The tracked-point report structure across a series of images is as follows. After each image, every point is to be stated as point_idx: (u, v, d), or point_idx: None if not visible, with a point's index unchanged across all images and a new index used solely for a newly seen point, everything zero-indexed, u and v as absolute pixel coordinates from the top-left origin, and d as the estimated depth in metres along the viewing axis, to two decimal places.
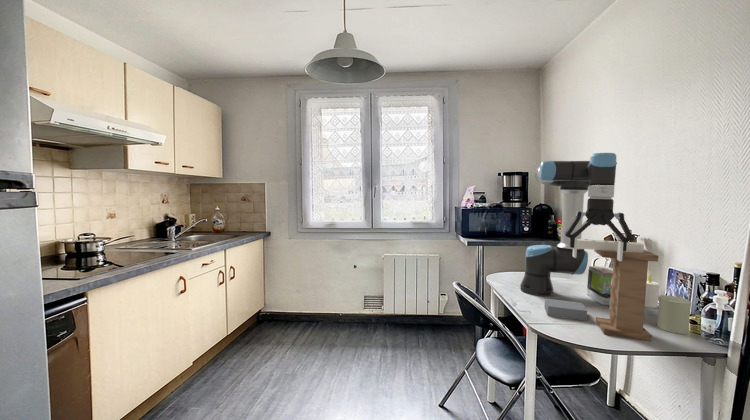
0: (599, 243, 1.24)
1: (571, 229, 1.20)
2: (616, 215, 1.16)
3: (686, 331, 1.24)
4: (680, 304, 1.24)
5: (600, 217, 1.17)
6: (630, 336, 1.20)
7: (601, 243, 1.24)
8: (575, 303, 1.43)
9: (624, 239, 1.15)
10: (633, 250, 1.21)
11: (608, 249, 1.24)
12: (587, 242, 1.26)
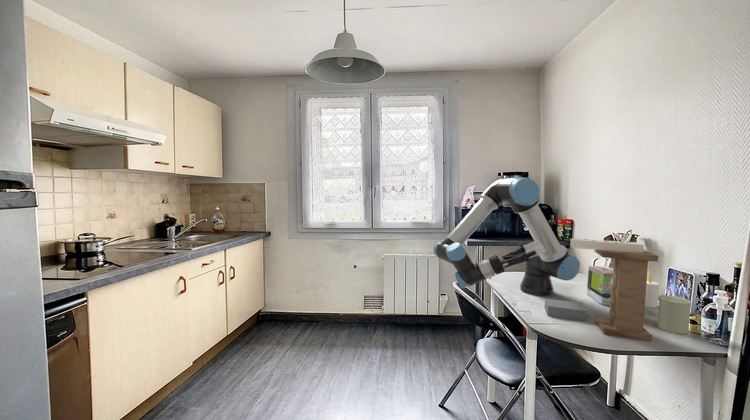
0: (599, 243, 1.24)
1: None
2: None
3: (686, 331, 1.24)
4: (680, 304, 1.24)
5: None
6: (630, 336, 1.20)
7: (601, 243, 1.24)
8: (575, 303, 1.43)
9: None
10: (633, 250, 1.21)
11: (608, 249, 1.24)
12: (587, 242, 1.26)
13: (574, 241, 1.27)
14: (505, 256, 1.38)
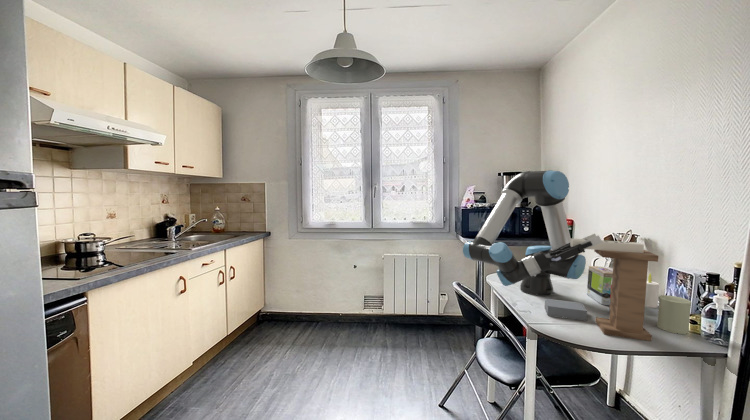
0: None
1: None
2: None
3: (686, 331, 1.24)
4: (680, 304, 1.24)
5: None
6: (630, 336, 1.20)
7: (601, 243, 1.24)
8: (575, 303, 1.43)
9: None
10: (633, 250, 1.21)
11: (608, 249, 1.24)
12: None
13: (574, 241, 1.27)
14: (552, 252, 1.31)
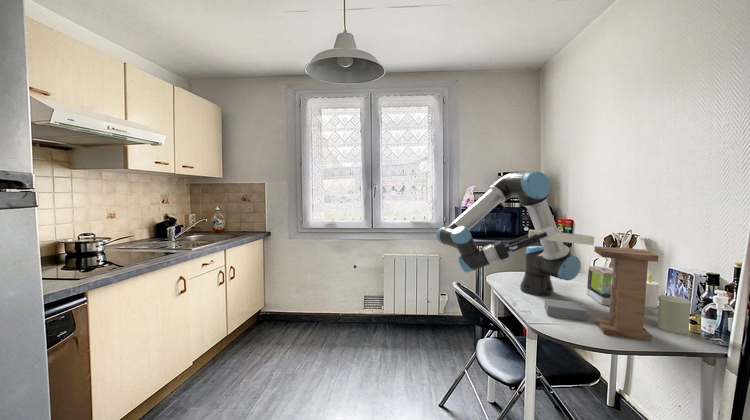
0: None
1: None
2: None
3: (686, 331, 1.24)
4: (680, 304, 1.24)
5: None
6: (630, 336, 1.20)
7: (556, 234, 1.31)
8: (575, 303, 1.43)
9: None
10: (584, 242, 1.28)
11: (562, 240, 1.30)
12: None
13: (531, 232, 1.33)
14: (511, 241, 1.37)
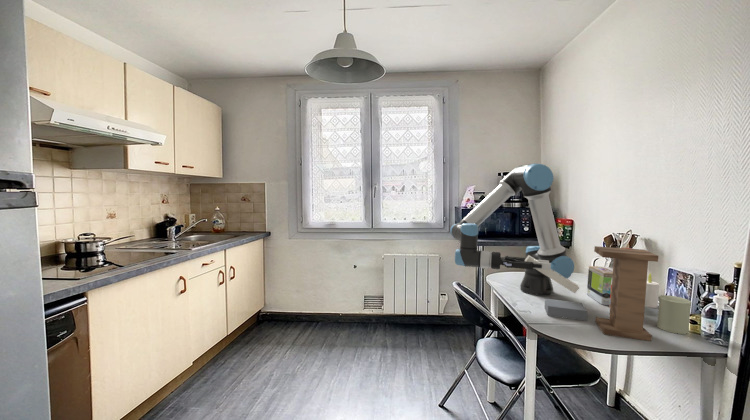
0: None
1: None
2: None
3: (686, 331, 1.24)
4: (680, 304, 1.24)
5: None
6: (630, 336, 1.20)
7: (549, 270, 1.41)
8: (575, 303, 1.43)
9: None
10: (569, 287, 1.39)
11: (551, 277, 1.41)
12: None
13: (529, 258, 1.43)
14: (508, 257, 1.47)
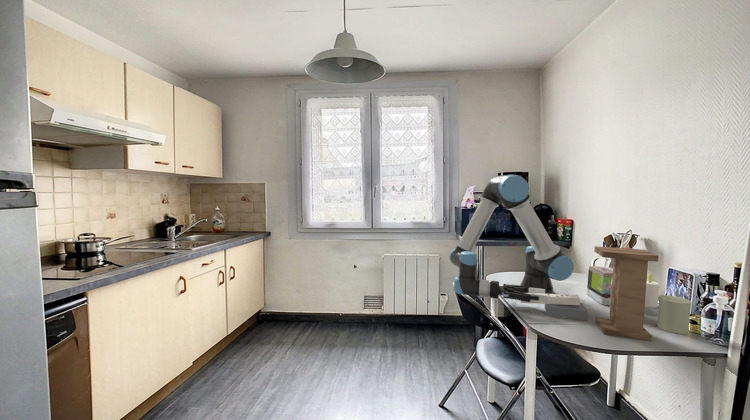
0: None
1: None
2: None
3: (686, 331, 1.24)
4: (680, 304, 1.24)
5: None
6: (630, 336, 1.20)
7: None
8: None
9: None
10: (571, 303, 1.39)
11: (551, 303, 1.41)
12: None
13: None
14: (506, 287, 1.48)
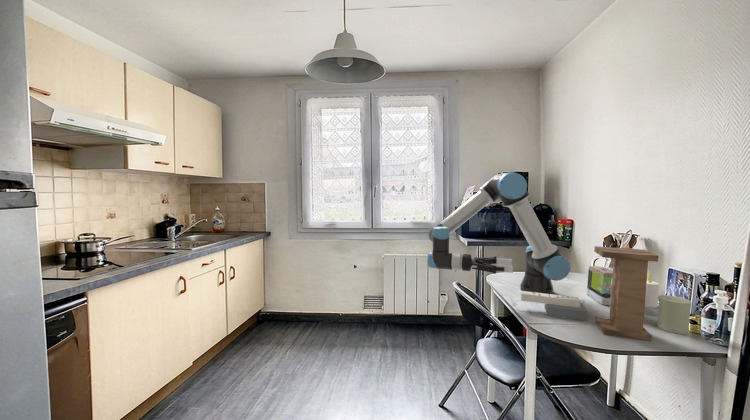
0: (543, 297, 1.42)
1: None
2: None
3: (686, 331, 1.24)
4: (680, 304, 1.24)
5: None
6: (630, 336, 1.20)
7: (545, 297, 1.42)
8: None
9: None
10: (571, 305, 1.39)
11: (551, 303, 1.41)
12: (533, 296, 1.43)
13: (522, 295, 1.45)
14: (477, 259, 1.51)
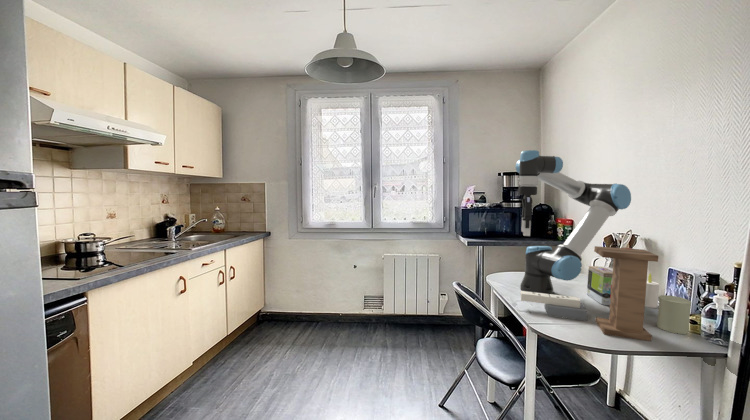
0: (543, 297, 1.42)
1: (522, 210, 1.59)
2: None
3: (686, 331, 1.24)
4: (680, 304, 1.24)
5: None
6: (630, 336, 1.20)
7: (545, 297, 1.42)
8: None
9: (524, 218, 1.44)
10: (571, 305, 1.39)
11: (551, 303, 1.41)
12: (533, 296, 1.43)
13: (522, 295, 1.45)
14: None
